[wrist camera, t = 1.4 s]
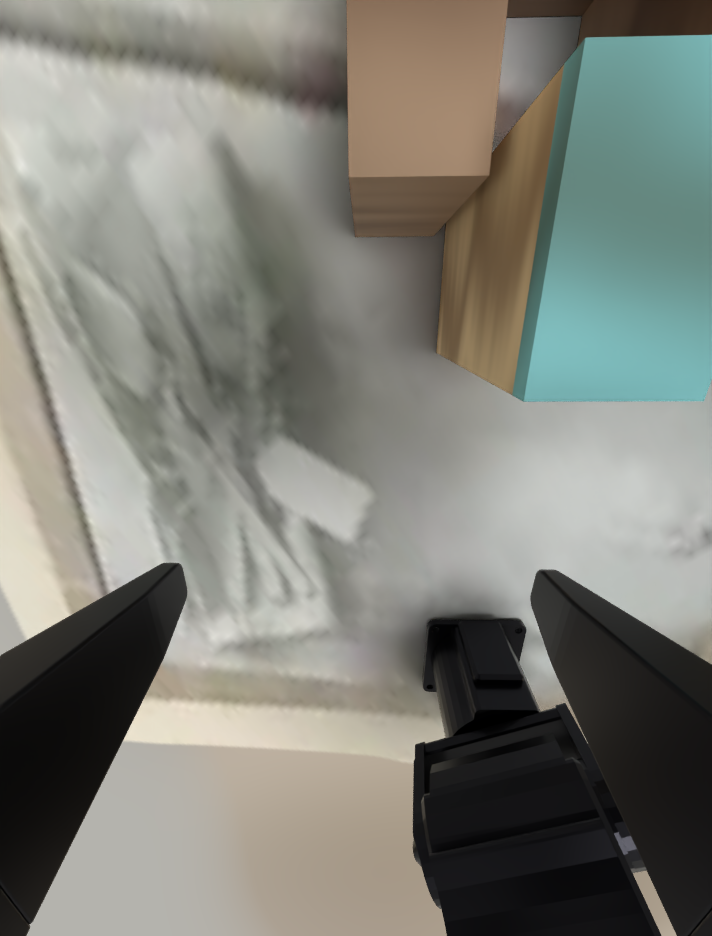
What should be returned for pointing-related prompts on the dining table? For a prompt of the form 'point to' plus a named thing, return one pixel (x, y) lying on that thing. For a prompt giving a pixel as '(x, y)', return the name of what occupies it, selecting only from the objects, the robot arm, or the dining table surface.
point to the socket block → (451, 95)
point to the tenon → (593, 234)
